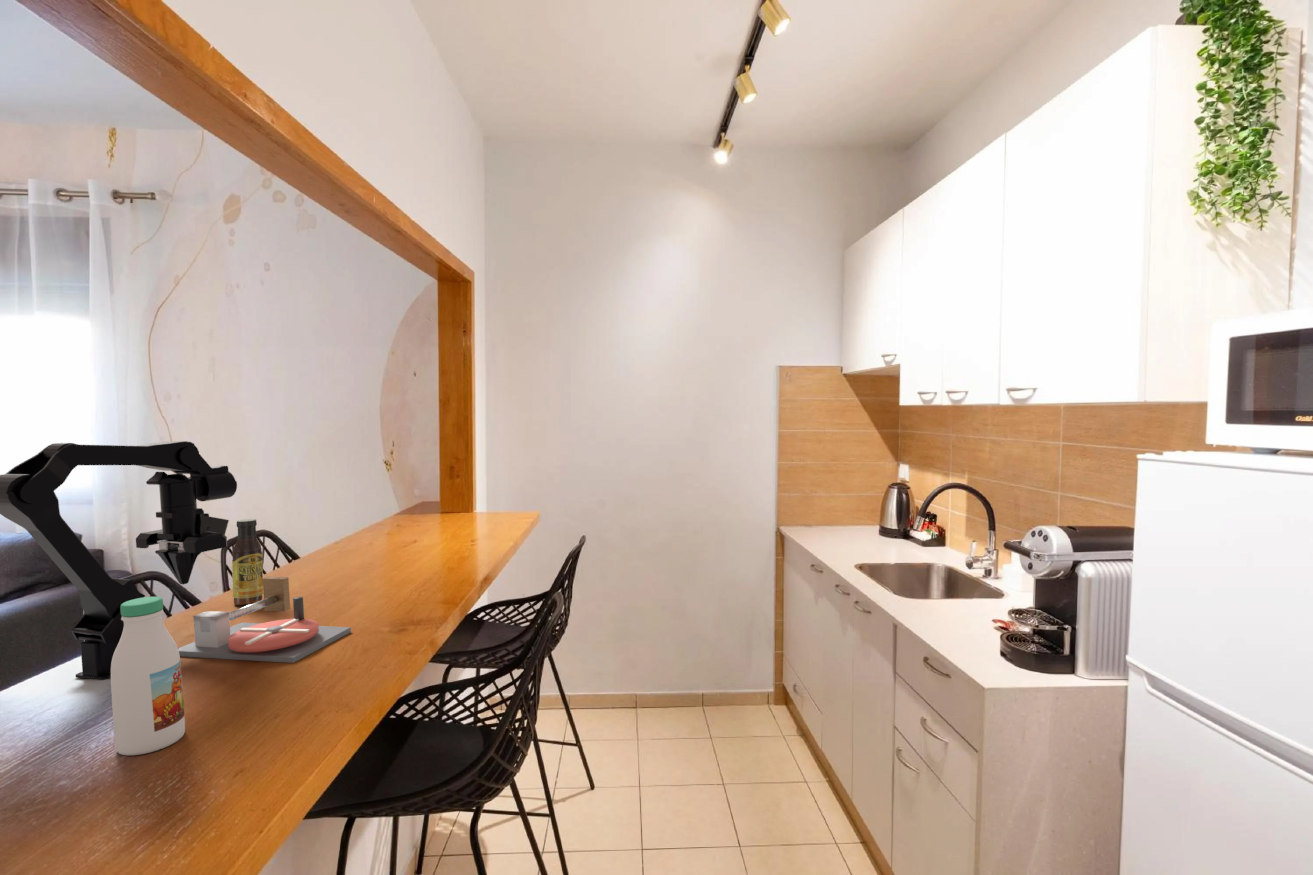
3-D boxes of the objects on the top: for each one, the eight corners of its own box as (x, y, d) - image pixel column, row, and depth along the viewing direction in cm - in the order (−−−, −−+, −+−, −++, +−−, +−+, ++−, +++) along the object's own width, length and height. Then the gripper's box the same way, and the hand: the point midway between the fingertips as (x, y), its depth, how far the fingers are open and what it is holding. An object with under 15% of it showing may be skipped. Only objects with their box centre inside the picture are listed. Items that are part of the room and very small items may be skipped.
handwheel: (336, 624, 133) (334, 597, 133) (283, 653, 118) (281, 622, 118) (269, 622, 135) (267, 596, 135) (208, 651, 120) (206, 620, 120)
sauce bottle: (239, 608, 153) (234, 523, 152) (228, 603, 157) (223, 521, 156) (269, 600, 158) (264, 519, 157) (258, 596, 162) (253, 516, 161)
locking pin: (242, 628, 131) (240, 594, 130) (221, 627, 132) (218, 593, 131) (290, 608, 143) (288, 577, 143) (270, 608, 144) (268, 576, 144)
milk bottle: (129, 763, 86) (119, 612, 85) (105, 748, 90) (95, 604, 89) (196, 736, 92) (186, 596, 91) (171, 723, 97) (161, 589, 96)
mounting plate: (293, 662, 119) (291, 625, 118) (172, 655, 124) (170, 619, 124) (350, 632, 135) (349, 598, 134) (241, 626, 140) (239, 594, 139)
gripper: (250, 500, 133) (255, 576, 134) (190, 497, 140) (194, 570, 141) (194, 509, 123) (199, 592, 123) (131, 506, 130) (137, 584, 130)
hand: (184, 583), depth 130 cm, fingers closed
